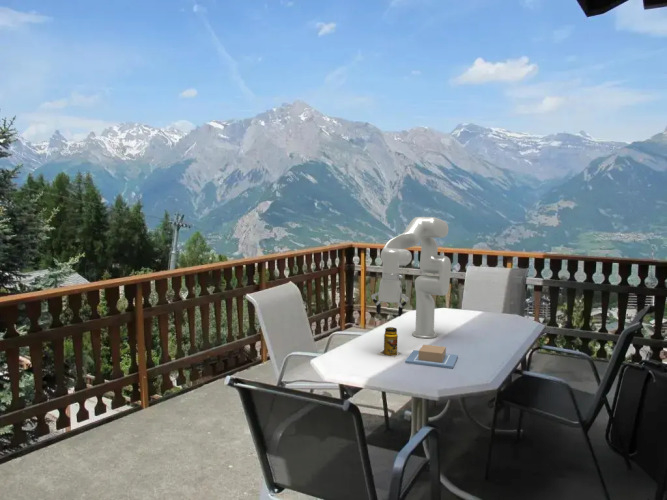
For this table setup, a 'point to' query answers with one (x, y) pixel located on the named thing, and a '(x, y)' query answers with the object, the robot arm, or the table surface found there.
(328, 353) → the table surface
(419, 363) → the board
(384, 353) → the condiment
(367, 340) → the table surface
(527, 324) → the table surface
